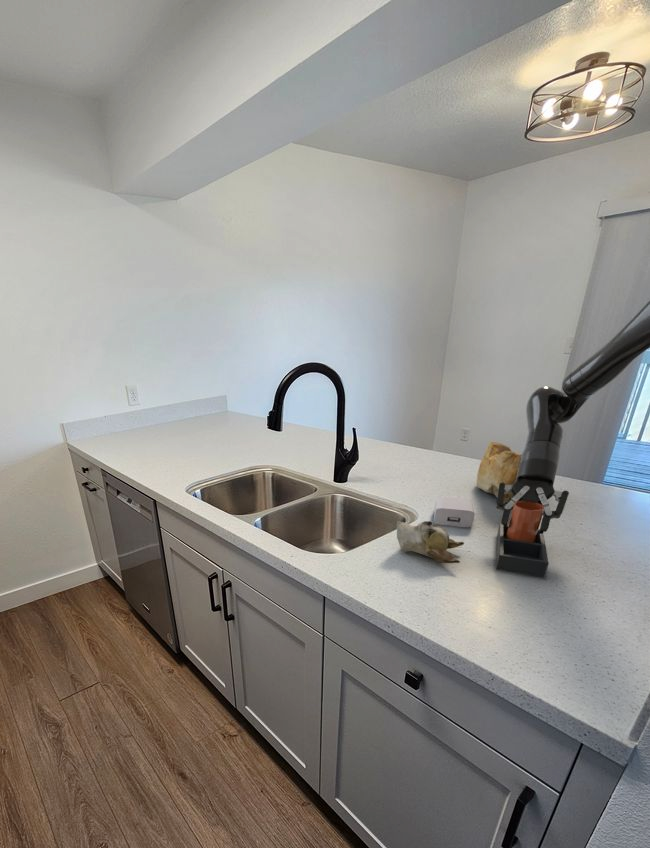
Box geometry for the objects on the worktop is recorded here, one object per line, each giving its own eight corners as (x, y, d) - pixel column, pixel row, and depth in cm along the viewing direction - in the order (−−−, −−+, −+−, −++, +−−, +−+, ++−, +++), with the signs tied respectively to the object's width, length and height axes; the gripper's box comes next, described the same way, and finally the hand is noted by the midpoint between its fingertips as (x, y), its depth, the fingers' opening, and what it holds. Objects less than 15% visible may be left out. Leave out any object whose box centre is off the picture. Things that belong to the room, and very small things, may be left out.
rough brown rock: (556, 515, 119) (576, 462, 112) (490, 508, 121) (507, 456, 115) (525, 487, 139) (540, 441, 133) (470, 482, 142) (482, 437, 135)
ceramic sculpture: (403, 506, 105) (470, 520, 99) (397, 537, 110) (461, 552, 103) (393, 524, 97) (465, 540, 91) (387, 557, 102) (456, 574, 95)
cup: (532, 541, 103) (543, 502, 99) (533, 552, 99) (545, 512, 94) (504, 537, 106) (513, 499, 101) (504, 547, 101) (514, 508, 97)
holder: (538, 542, 104) (542, 529, 103) (544, 577, 91) (548, 563, 89) (496, 536, 108) (499, 523, 106) (496, 569, 95) (499, 555, 93)
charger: (469, 506, 125) (471, 528, 113) (434, 503, 129) (433, 524, 116) (472, 490, 123) (475, 511, 111) (436, 488, 126) (436, 507, 114)
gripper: (504, 453, 103) (488, 517, 99) (579, 460, 95) (564, 529, 92) (502, 468, 109) (486, 529, 106) (571, 476, 102) (557, 541, 98)
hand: (523, 529), depth 99 cm, fingers open, 6 cm apart
